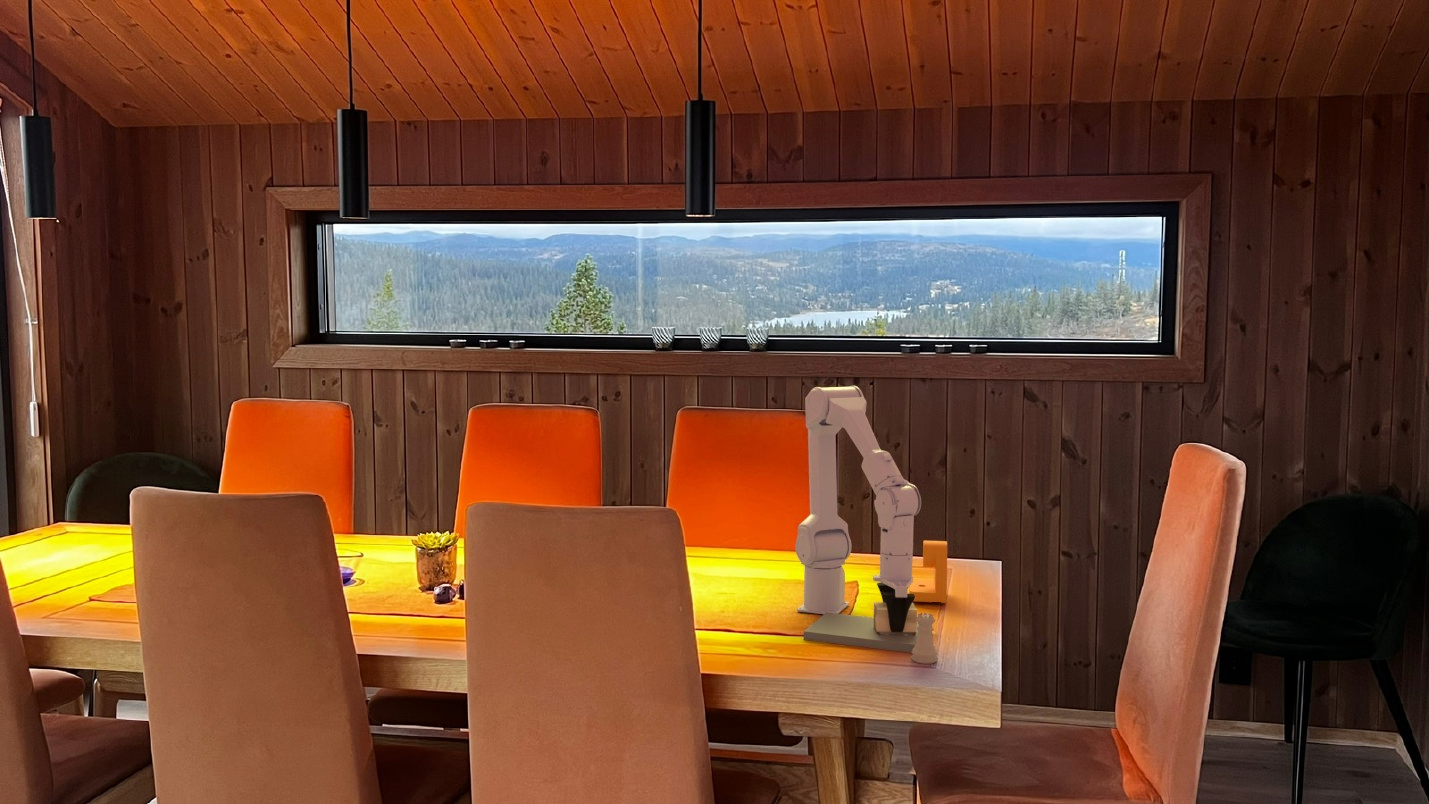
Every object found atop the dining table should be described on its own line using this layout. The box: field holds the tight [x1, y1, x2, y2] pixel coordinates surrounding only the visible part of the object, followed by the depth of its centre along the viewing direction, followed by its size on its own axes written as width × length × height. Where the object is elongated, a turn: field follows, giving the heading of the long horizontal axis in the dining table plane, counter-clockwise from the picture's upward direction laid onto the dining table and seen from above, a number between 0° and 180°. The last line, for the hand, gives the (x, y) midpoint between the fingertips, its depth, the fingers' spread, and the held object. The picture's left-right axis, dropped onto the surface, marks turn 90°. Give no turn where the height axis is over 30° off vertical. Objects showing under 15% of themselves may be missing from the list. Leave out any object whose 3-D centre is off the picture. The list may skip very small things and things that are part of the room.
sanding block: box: [873, 601, 918, 635], centre depth 218 cm, size 5×7×4 cm
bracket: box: [908, 540, 948, 604], centre depth 246 cm, size 11×7×12 cm, turn 171°
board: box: [803, 612, 918, 654], centre depth 220 cm, size 14×20×2 cm
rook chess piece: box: [910, 611, 939, 665], centre depth 205 cm, size 4×4×8 cm
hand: (894, 627), depth 218 cm, fingers closed on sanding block, 5 cm apart
